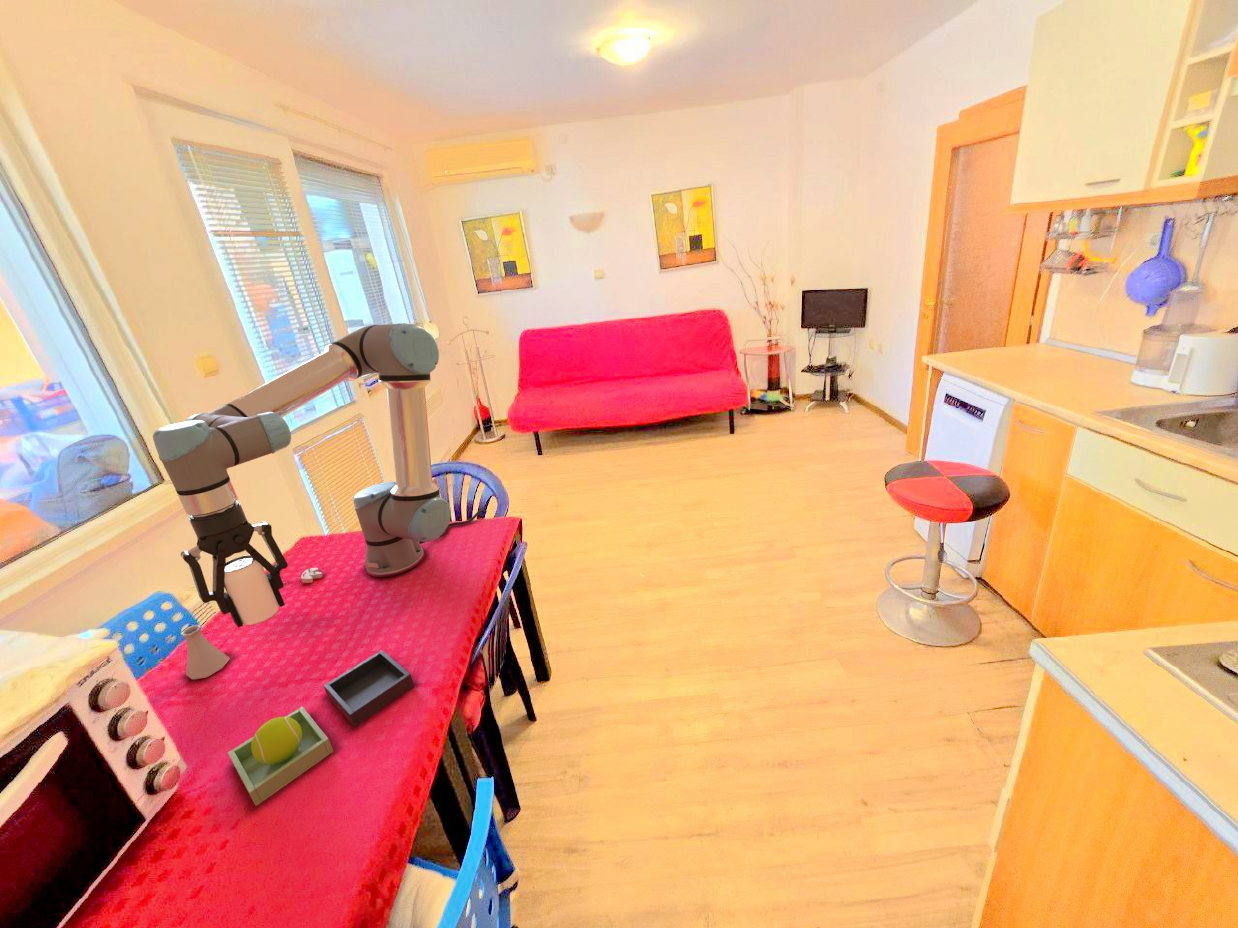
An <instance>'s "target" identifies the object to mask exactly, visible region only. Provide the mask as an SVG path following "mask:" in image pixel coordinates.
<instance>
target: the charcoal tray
mask: <svg viewBox="0 0 1238 928" xmlns="http://www.w3.org/2000/svg"><path fill="white" fill-rule="evenodd" d="M414 686H415V684H414V681H413V678H412V674H411V673H410V672H409V671H407V670H406V669H405V668H404V667H402V666H401V664H399V663H398V662H397V661H396V660H394V659H393V658H392V657H391V656H390V655H389V654H387V653H386V652H385V651H384V650H383V649H381V650H379V651H378V652H376V653H375V654H373V655H371V656H369V657H368V658H366V659H364V660H363V661H361V662H359V663H358V664H356V665H355V666H353V667H350V669H348V670H346V671H345V672H343V673H342V674H340V675H338V676H337V677H335V678H334V679H332V680H330V681H329V682H327V683H326V684H324V685H323V689H324V691H325V694H326V696H327V698H328V699H329V700H330V702H331V703H332V704H333V705H334V707H336V709H338V711H339V712H340V713H341V714H342V716H344V717H345V718H346V720H347V721H348V722H349V724H350V725H352V726H353V727H354V728H355V727H357V726H359V725H360V724H362V723H363V722H365V721H366V720H367V719H369V718H370V717H372V716H373V715H374V714H377V712H379V711H380V710H382V709H384V708H385V707H386V706H388V705H389V704H391V703H392V702H393V701H395V700H396V699H398V698H399V697H400V696H402V695H404V694H405V693H406V692H407V691H409V690H410V689H412V688H413V687H414Z"/></svg>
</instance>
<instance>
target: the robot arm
mask: <svg viewBox="0 0 1238 928" xmlns="http://www.w3.org/2000/svg"><path fill="white" fill-rule="evenodd" d="M439 361H440V352H439V347H438V344H437V341H436V339H435V338H434V336H433V335H432V334H431V333H430V332H429V330H427V329H426V328H425V327H423V326H421V325H418V324H416V323H415V324H414V323H407V322H406V323H405V322H403V323H401V322H400V323H389V324H387V323H386V324H370V325H366V326H363V327H360V328H358V329H355V330H354V331H352V332H350V333H348V334H346V335H343V337H341V338H339V339H337V340H335V341H333V342H330V343H329V344H328V345H326V346H325V348H324V352H322V353H320V354H318V355H317V356H315V357H313V358H311V359H309V360H308V361H305V362H303V363H302V364H300V365H297V366H296V367H294V368H292V369H290V370H288V371H287V372H285V373H283V374H281V375H279V376H276V377H275V378H273V379H271V380H270V381H268V382H265V383H264V384H262V385H260V386H258V387H256V388H254V389H253V390H250V391H249V392H247V393H245V394H243V395H241V396H239V397H238V398H235V399H234V400H231V401H230V402H228V403H226V404H224V405H222V406H219V407H218V408H215V409H214V410H212V411H210V412H202V413H201V412H200V413H195V414H193V415H191V416H189V417H187V418H186V419H185V420H184V421H182V422H176V423H172V424H168V425H164V426H161V427H160V428H158V429H156V430H155V431H154V432H153V434H152V441H153V443H154V447H155V449H156V452H157V455H158V459H159V461H161V463H162V466H163V467H164V469H165V471H166V473H167V475H168V477H169V479H170V481H171V483H172V485H173V487H174V489H175V492H176V494H177V496H178V499H179V501H180V503H181V505H182V507H183V510H184V512H185V514H186V515H187V516H188V520H189V523H190V525H191V526H192V530H193V531H194V534H195V535H196V538H197V542H196V546H194V547H192V548H190V549H189V550H183V551H181V553H180V557H181V559H183V560H184V562H185V563H186V564H187V565H188V567H189V569H190V574H191V576H192V579H193V582H194V585H195V589H196V591H197V594H198V596H199V599H200V600H201V601H202V603H204V604H208V603H210V602H216V604H217V607H218V609H219V611H220V613H222V614H223V615H224V616H225V615H227V614H230V616H231V618H232V621H233V622H234V624H235V625H236V626H237V628H241V627H243V626H244V624H242V622H241V620H240V618H239V615H238V613H237V611H236V609H235V607H234V605H233V602H232V600H231V598H230V596H229V595H228V594H227V592H226V591H225V587H224V578H225V564H226V562H227V558H230V557H232V556H233V555H235V554H240V553H242V552H246V553H247V554H248V555H251V556H252V557H253V558H254V559H256V561H257V562H259V563H260V564H261V565H262V566H263V568H264V570H265V571H267V572H268V573H266V575H267V578H268V580H269V582H270V585H271V587H272V590H273V592H274V594H275V597H276V599H277V602H278V604H279V608H282V607H284V606H285V605H286V604H285V601H284V599H283V597H282V594H281V592H280V590H281V589H283V588H284V587H285V583H283V580H282V577H281V572H282V571H283V570H285V569H287V568H288V566H289V564H288V562H287V560H286V558H285V556H284V554H283V553H282V551H281V549H280V548H279V545H278V543H277V542H276V540H275V538H274V536H273V530H272V529H273V528H272V524H270V523H269V522H267V521H265V520H263V521H261V522H260V523H258V524H257V523H256V524H252V523H250V522H249V521H248V518H247V516H246V513H245V511H244V509H243V507H242V505H241V502H239V501H238V500H239V497H238V494H237V492H236V490H235V488H234V485H233V483H232V481H231V477H230V475H229V473H228V469H230V468H233V467H236V466H238V465H242V464H244V463H247V462H251V461H254V460H256V459H259V458H262V457H265V456H268V455H271V454H272V455H273V454H275V453H276V452H279V451H281V450H283V449H285V448H287V447H289V445H290V444H291V441H292V432H291V430H290V426H289V425H288V423H287V421H286V420H285V419H284V417H286V416H287V415H289V414H291V413H292V412H294V411H296V410H298V409H299V408H301V407H303V406H305V405H306V404H308V403H309V402H311V401H313V400H314V399H316V398H318V397H320V396H321V395H323V394H325V393H327V392H328V391H330V390H331V389H333V388H335V387H337V386H338V385H340V384H341V383H344V382H345V381H348V382H353V381H356V380H357V379H359V378H361V377H363V376H367V375H371V374H372V375H373V374H378V382H379V383H380V384H381V385H382V386H384V387H385V388H386V392H387V403H388V404H387V405H388V413H389V423H390V432H391V444H392V453H393V463H394V472H395V473H394V475H395V481H385V482H380V483H375V484H373V485H370V486H368V487H366V488H363V489H361V490H359V491H358V492H357V493H356V494H355V495H353V498H352V499H353V500H352V501H353V507H354V511H355V513H356V517H357V520H358V523H359V525H360V529H361V532H362V534H363V538H364V542H365V545H366V547H365V557H364V558H365V559H364V560H365V561H364V567H365V570H366V573H367V574H368V575H369V576H371V577H375V578H389V577H393V576H394V577H395V576H397V575H400V574H403V573H406V572H408V571H410V570H412V569H414V568H415V567H417V566H418V565H419V564H420V563H421V562H422V561H423V560H424V557H425V551H424V549H423V546H422V544H425V543H430V542H434V541H435V540H437V539H439V538H441V537H443V536H444V535H445V534H446V532H447V529H448V528H450V527H453V526H460V525H461V526H462V525H467V524H469V523H471V522H472V521H474V520H475V519H476V518H477V517H478V515H480V514H481V513H484V514H486V513H487V512H488V511H487V510H485V509H480V510H478V511H477V512H476V513H475V514H474V515H473V516H472V517H471V518H469V519H467V520H464V521H457V522H451V517H452V509H451V506H450V504H449V502H447V500H446V499H445V498H442V497H441V494H440V493H441V491H440V485H438V484H437V483H436V482H435V481H434V480H433V470H432V469H433V468H432V459H431V448H430V447H431V446H430V435H429V434H430V433H429V423H428V421H429V420H428V410H427V397H426V386H428V384H430V382H431V373H432V372H433V371H434V370H435V369H436V368H437V365H438V364H439ZM254 532H256V534H258V535H259V536H261V538H262V540H263V541H264V543H265V545H266V547H267V548H268V550H269V552H270V554H271V555H272V558H273V559H274V562H275V563H274V564H272V563H271V562H269V560H268V559H266V558H265V557H264V556H263V555H262V554H261V553H260V552H259V551H258V550H257V549H256V548H255V547H253V546H252V545H251V544H250V543H251V540H252V537H253V534H254ZM201 552H203V553H206V554H208V555H211V556H212V589H211V590H212V591H209V589H208V584H207V581H206V579H205V576H204V573H203V570H202V567H201V564H200V562H199V561H200V559H201Z"/></svg>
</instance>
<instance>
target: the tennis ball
mask: <svg viewBox="0 0 1238 928" xmlns="http://www.w3.org/2000/svg"><path fill="white" fill-rule="evenodd" d="M252 737H253V739H252V744H251V750H252V754H253V756H254V758H255V759H256V760H257V761H258V762H260V763H262V764H266V765H274V764H278V763H281V762H283V761H285V760H287V759H288V758H290V757H291V756H292V755H293V754H294V753H295V752H296V750H297V749H298V747H299V745H300V743H301V740H302V730H301V727H300V725H299V723H298V722H297V721H296V720H294V719H292V718H290V717H286V716H278V717H274V718H271V719H269V720H268V721H266V722H264V723H263V724H262V725H261V726H260V727H259V728H258V729H257V730H256V732H255V733H254V735H253V736H252Z"/></svg>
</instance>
